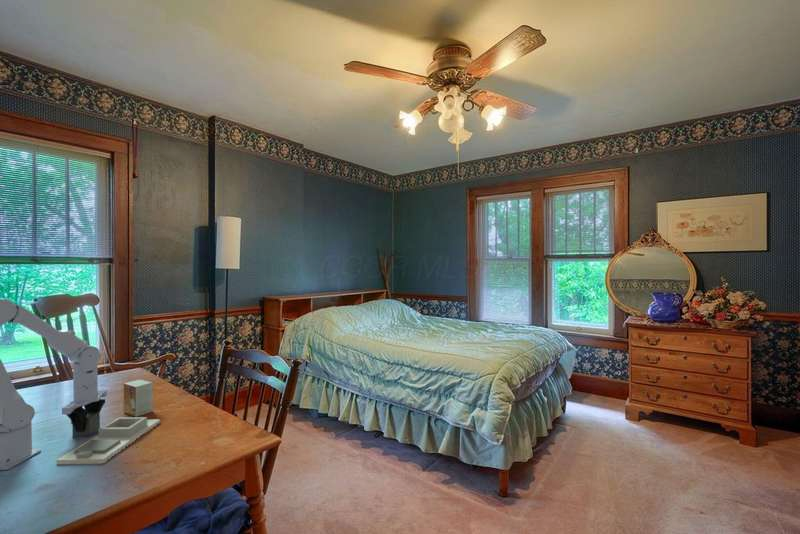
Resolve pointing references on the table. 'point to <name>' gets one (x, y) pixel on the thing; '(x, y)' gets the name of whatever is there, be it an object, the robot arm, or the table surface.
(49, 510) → the table surface
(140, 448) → the table surface
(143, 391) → the small box
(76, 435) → the plug
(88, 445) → the socket base board
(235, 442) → the table surface
